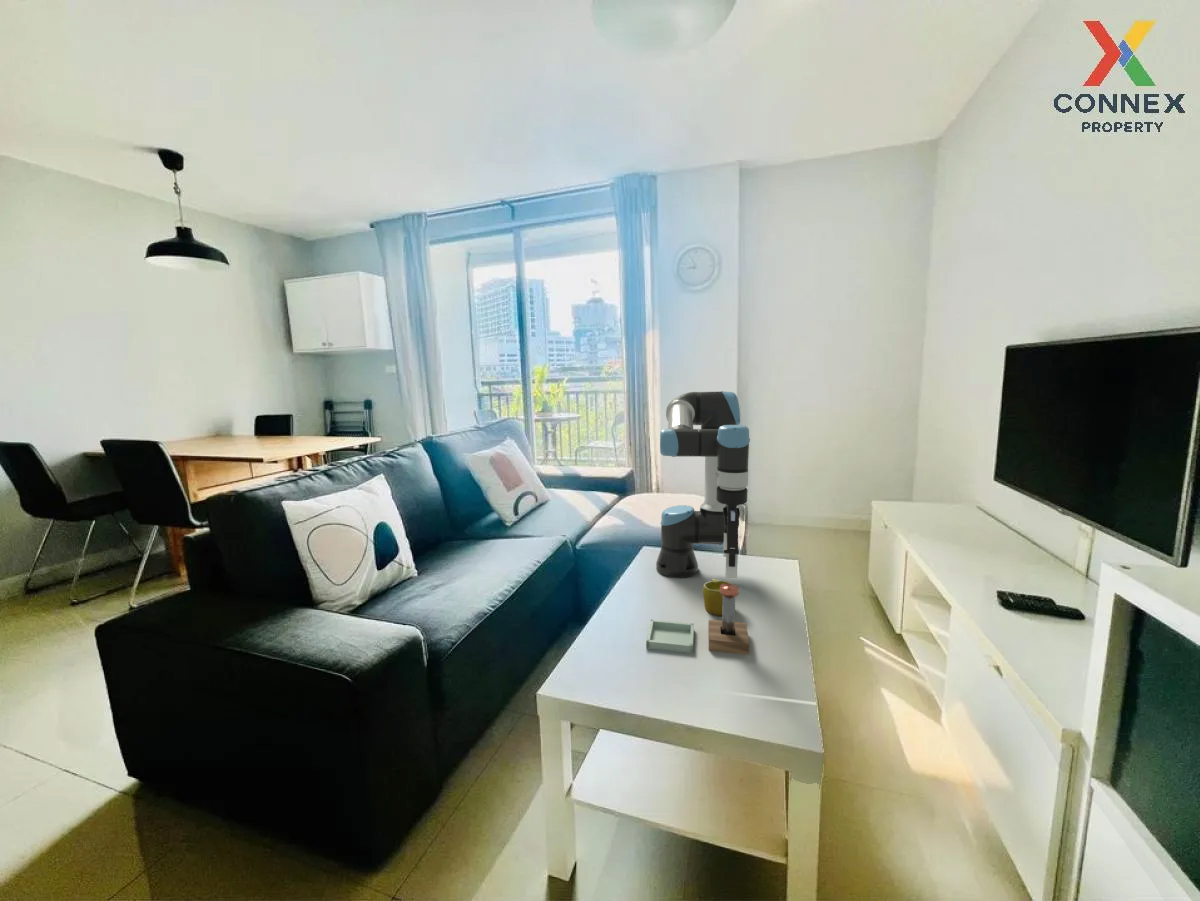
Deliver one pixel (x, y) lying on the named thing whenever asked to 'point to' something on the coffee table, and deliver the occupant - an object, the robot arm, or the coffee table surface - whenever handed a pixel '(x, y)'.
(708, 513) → the robot arm
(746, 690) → the coffee table surface
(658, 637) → the tray
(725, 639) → the socket block
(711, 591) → the mug
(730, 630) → the pin
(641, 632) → the coffee table surface
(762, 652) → the coffee table surface
